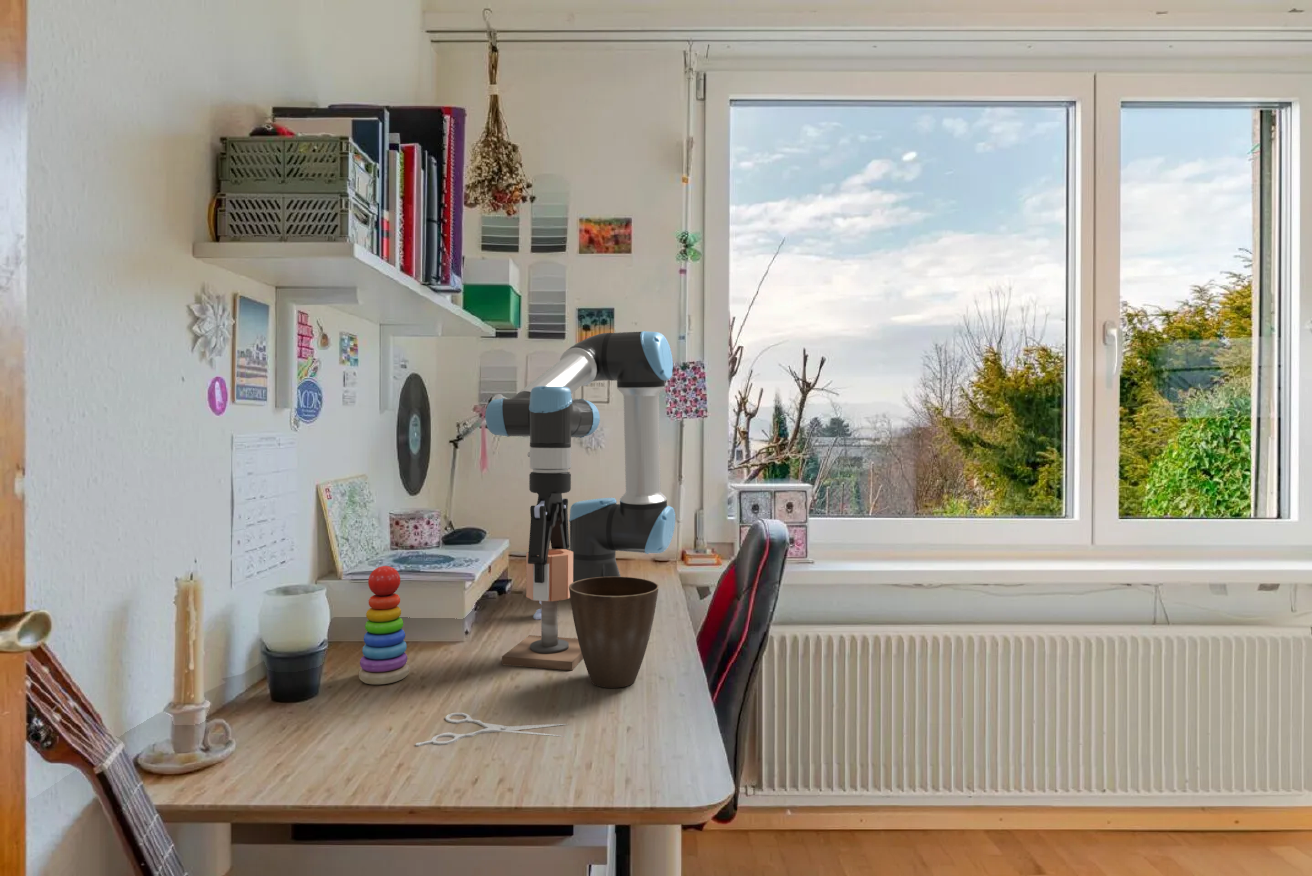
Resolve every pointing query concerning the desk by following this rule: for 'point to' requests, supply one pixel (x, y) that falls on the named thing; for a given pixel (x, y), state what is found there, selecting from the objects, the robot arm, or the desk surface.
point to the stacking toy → (384, 631)
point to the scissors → (488, 729)
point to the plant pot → (613, 626)
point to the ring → (554, 574)
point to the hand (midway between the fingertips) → (549, 594)
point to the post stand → (546, 645)
